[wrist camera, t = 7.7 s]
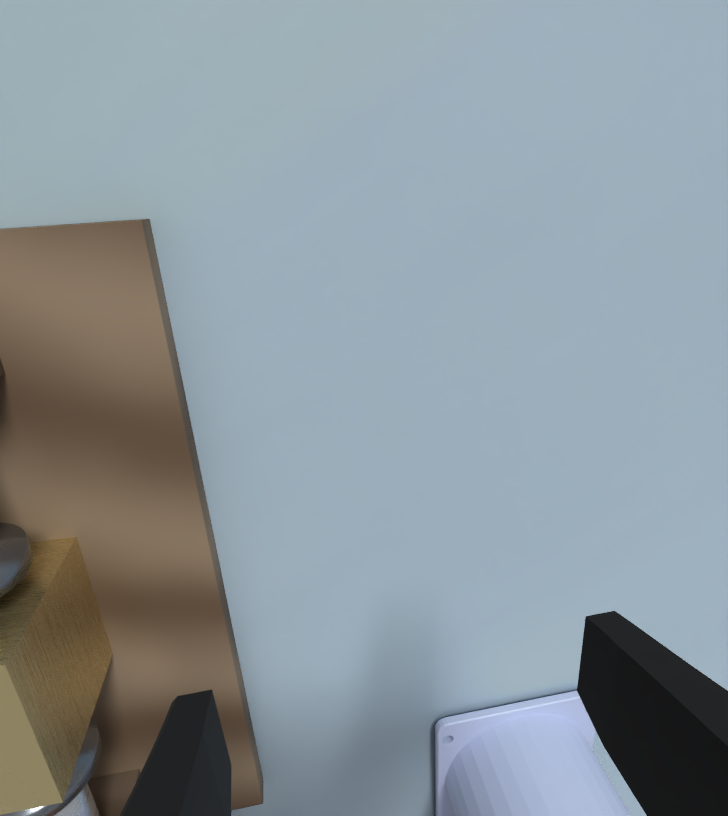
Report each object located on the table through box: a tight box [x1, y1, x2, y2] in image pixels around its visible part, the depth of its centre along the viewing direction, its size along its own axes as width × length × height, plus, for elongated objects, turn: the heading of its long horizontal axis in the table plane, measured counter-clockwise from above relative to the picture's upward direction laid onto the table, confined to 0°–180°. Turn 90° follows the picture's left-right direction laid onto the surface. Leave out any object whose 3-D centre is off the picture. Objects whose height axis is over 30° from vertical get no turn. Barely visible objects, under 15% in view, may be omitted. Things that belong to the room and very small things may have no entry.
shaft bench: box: [0, 219, 263, 816], centre depth 17 cm, size 24×12×3 cm, turn 4°
